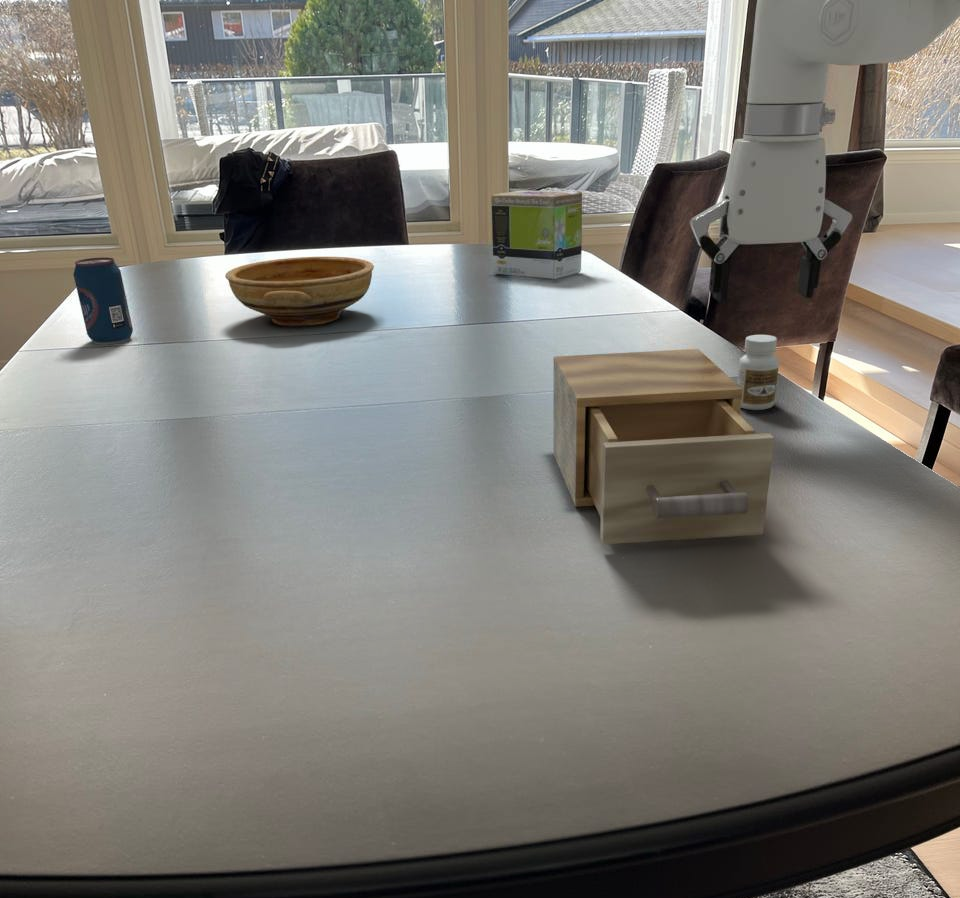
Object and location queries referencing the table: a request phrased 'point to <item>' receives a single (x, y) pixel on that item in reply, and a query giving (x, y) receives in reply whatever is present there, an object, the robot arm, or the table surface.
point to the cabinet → (625, 396)
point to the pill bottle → (758, 372)
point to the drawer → (675, 471)
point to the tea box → (537, 233)
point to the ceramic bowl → (301, 287)
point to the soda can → (103, 300)
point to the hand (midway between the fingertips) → (761, 297)
